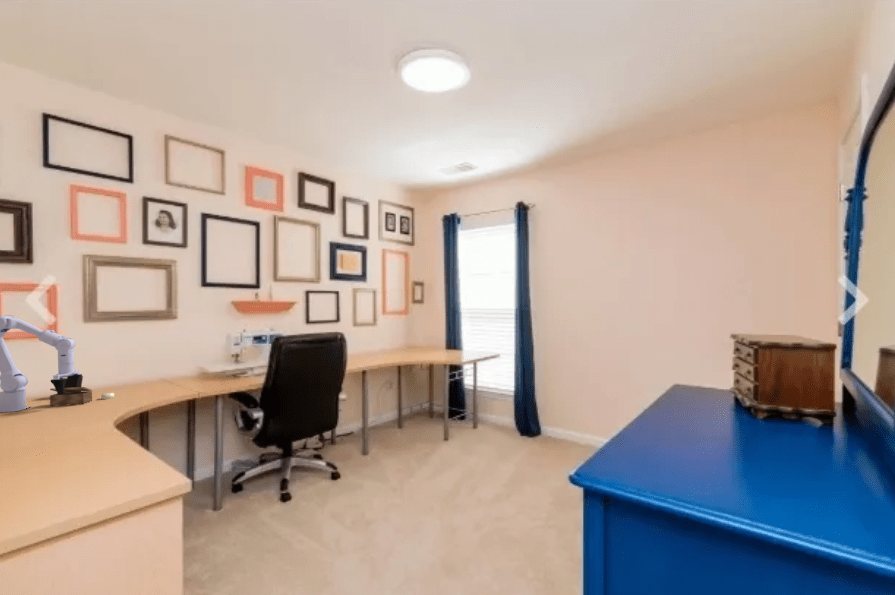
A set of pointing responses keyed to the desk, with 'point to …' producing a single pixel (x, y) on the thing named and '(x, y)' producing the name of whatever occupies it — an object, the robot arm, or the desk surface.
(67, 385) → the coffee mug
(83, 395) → the walnut box
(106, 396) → the cream domed disc
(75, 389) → the lid
